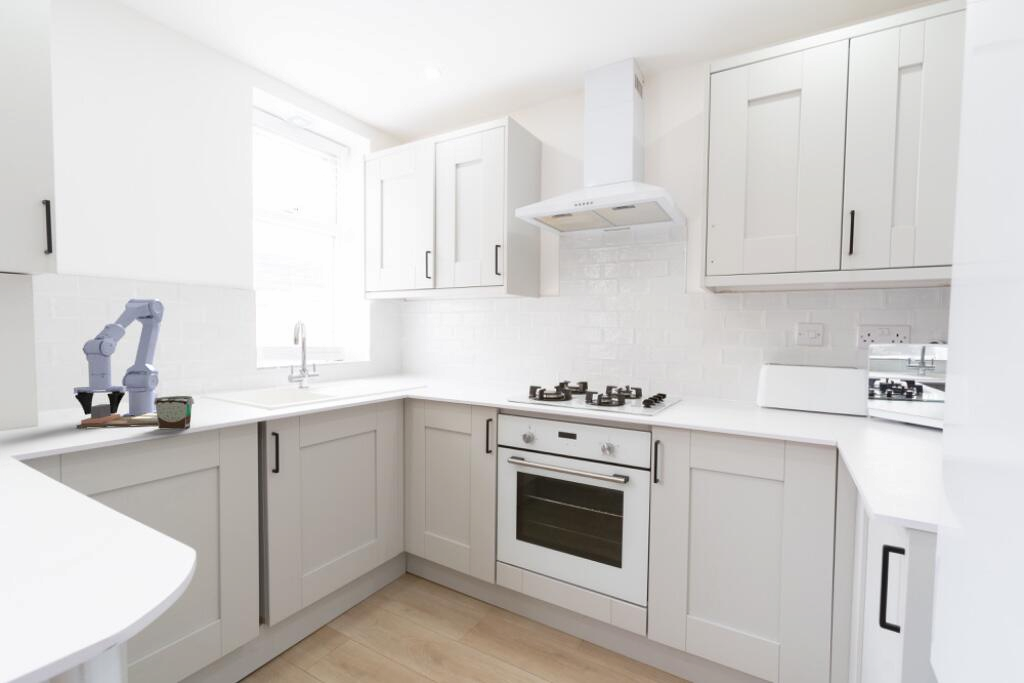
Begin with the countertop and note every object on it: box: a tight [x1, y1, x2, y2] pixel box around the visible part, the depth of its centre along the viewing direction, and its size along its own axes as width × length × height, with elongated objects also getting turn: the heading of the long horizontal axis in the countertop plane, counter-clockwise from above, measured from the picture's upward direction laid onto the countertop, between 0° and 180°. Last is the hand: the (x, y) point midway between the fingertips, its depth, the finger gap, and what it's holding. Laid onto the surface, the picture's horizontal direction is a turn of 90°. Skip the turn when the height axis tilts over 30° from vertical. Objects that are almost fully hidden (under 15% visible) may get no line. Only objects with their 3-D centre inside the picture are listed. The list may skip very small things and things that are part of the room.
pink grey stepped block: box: [80, 403, 121, 424], centre depth 157 cm, size 10×6×5 cm, turn 11°
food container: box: [154, 395, 195, 430], centre depth 152 cm, size 12×6×10 cm, turn 84°
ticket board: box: [76, 412, 158, 429], centre depth 159 cm, size 14×25×2 cm, turn 101°
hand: (101, 413), depth 157 cm, fingers open, 7 cm apart
